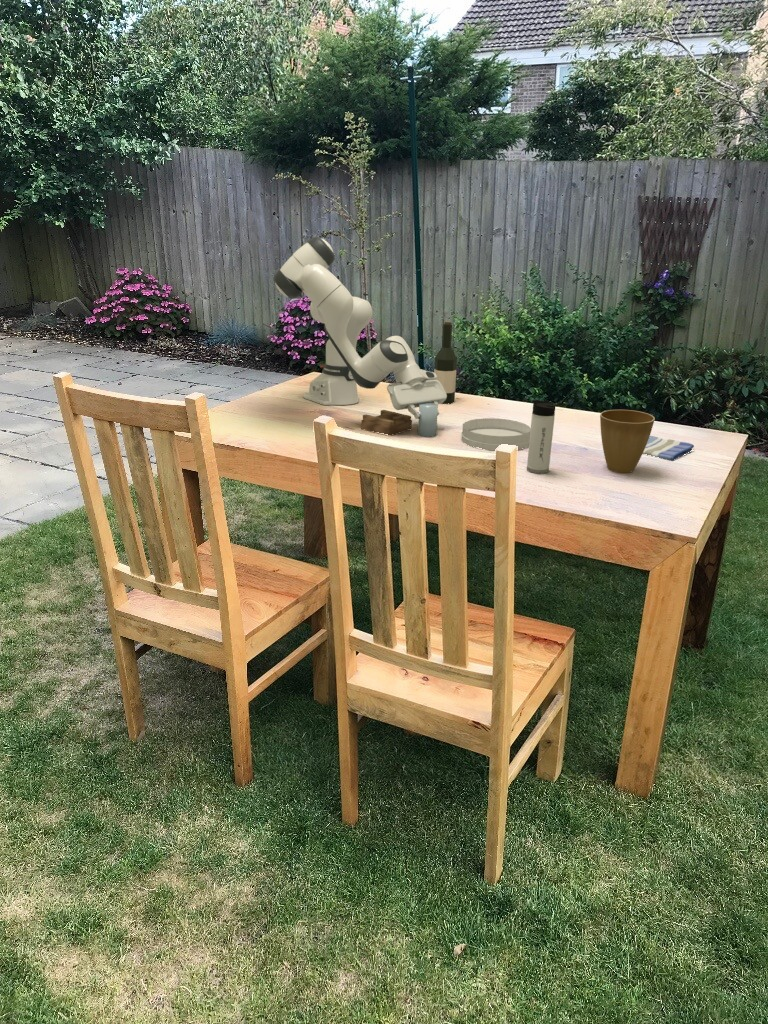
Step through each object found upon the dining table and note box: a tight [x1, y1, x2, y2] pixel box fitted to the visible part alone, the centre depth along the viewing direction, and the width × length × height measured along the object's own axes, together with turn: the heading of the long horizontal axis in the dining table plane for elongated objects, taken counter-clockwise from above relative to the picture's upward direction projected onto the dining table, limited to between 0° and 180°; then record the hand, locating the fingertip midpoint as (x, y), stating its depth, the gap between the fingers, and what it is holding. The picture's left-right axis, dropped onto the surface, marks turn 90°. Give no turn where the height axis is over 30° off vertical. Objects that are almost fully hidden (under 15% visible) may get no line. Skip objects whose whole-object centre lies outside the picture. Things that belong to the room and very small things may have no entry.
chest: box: [360, 409, 413, 436], centre depth 261 cm, size 12×12×5 cm
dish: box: [460, 417, 531, 452], centre depth 251 cm, size 22×22×5 cm
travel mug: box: [526, 399, 556, 475], centre depth 221 cm, size 6×7×20 cm
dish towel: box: [642, 435, 695, 461], centre depth 249 cm, size 17×24×3 cm
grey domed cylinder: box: [417, 403, 439, 438], centre depth 255 cm, size 6×6×10 cm
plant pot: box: [599, 409, 656, 474], centre depth 225 cm, size 15×15×16 cm
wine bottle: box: [433, 321, 458, 405], centre depth 295 cm, size 8×8×30 cm
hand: (427, 416), depth 254 cm, fingers closed on grey domed cylinder, 6 cm apart
